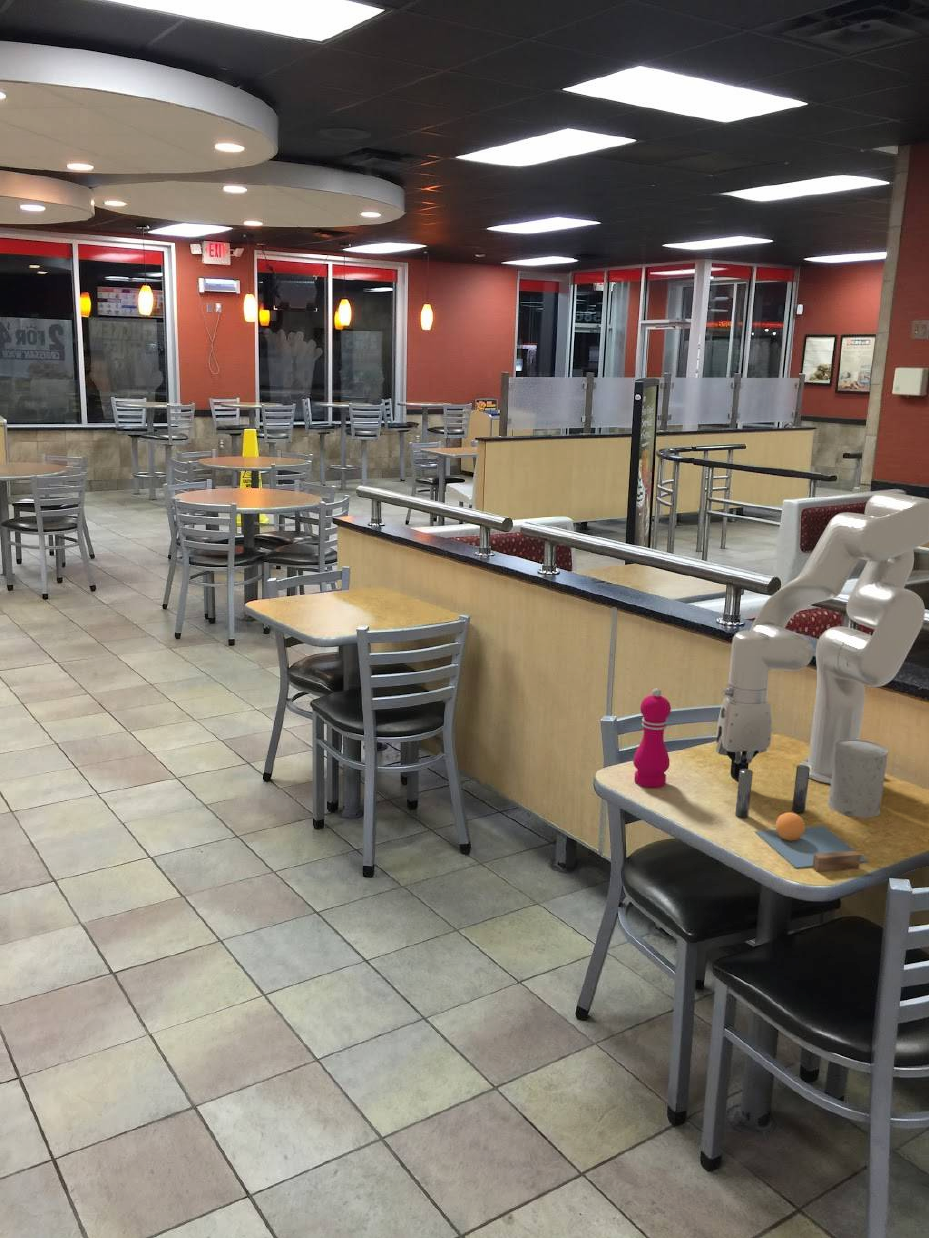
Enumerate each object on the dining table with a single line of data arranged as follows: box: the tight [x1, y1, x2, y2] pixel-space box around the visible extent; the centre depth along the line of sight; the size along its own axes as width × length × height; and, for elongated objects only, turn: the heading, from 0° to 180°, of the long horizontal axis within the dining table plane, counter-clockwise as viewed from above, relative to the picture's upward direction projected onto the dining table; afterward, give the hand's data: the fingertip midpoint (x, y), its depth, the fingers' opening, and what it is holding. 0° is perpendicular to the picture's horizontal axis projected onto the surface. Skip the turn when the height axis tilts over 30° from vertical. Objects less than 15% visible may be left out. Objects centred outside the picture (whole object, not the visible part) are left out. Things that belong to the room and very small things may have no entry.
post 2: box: [791, 764, 810, 815], centre depth 194 cm, size 2×2×9 cm
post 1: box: [734, 768, 754, 819], centre depth 191 cm, size 2×2×9 cm
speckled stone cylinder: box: [827, 739, 889, 819], centre depth 196 cm, size 10×10×12 cm
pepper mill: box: [633, 687, 672, 789], centre depth 205 cm, size 7×7×20 cm
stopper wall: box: [811, 850, 862, 873], centre depth 173 cm, size 8×2×2 cm, turn 103°
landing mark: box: [754, 825, 869, 869], centre depth 181 cm, size 14×14×1 cm
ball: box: [775, 812, 806, 841], centre depth 182 cm, size 5×5×5 cm
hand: (738, 779), depth 206 cm, fingers closed
